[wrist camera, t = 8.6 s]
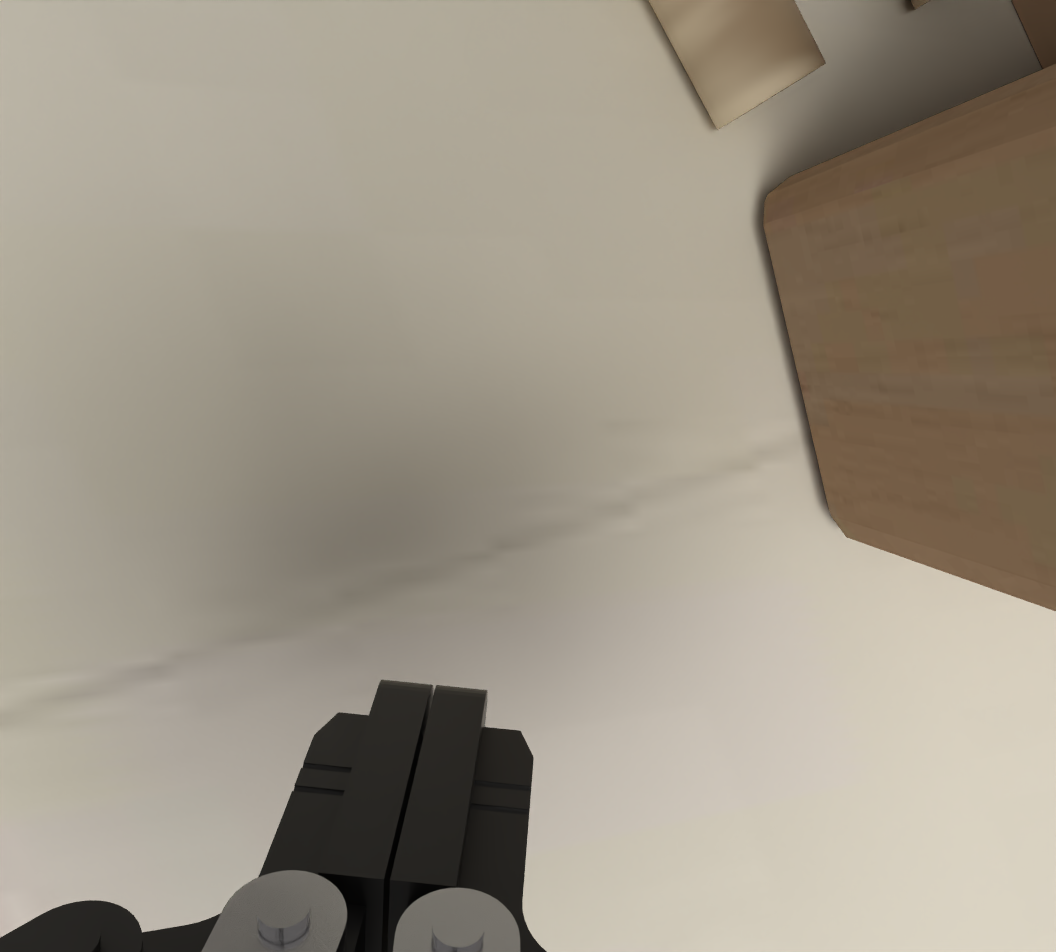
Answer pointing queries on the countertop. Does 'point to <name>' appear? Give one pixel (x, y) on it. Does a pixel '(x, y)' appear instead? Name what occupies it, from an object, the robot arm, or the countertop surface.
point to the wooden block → (934, 335)
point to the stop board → (1039, 27)
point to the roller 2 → (918, 3)
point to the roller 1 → (739, 50)
